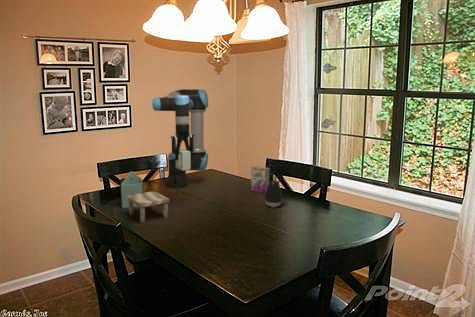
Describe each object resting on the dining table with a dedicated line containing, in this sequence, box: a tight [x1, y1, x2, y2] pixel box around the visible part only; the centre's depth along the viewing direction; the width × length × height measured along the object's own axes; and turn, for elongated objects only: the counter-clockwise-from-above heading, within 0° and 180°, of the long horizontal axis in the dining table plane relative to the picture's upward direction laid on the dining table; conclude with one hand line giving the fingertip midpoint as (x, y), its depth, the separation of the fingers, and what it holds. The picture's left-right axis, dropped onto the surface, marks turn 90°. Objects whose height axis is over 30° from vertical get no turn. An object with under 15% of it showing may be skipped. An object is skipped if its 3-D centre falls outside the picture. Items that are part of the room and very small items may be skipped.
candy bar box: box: [250, 165, 270, 194], centre depth 261 cm, size 11×5×16 cm, turn 58°
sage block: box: [176, 148, 191, 171], centre depth 225 cm, size 5×8×10 cm, turn 36°
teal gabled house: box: [120, 170, 144, 209], centre depth 232 cm, size 16×8×20 cm, turn 150°
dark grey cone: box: [264, 180, 283, 208], centre depth 233 cm, size 10×10×15 cm
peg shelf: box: [127, 190, 170, 223], centre depth 216 cm, size 16×18×10 cm
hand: (183, 165), depth 225 cm, fingers closed on sage block, 5 cm apart
